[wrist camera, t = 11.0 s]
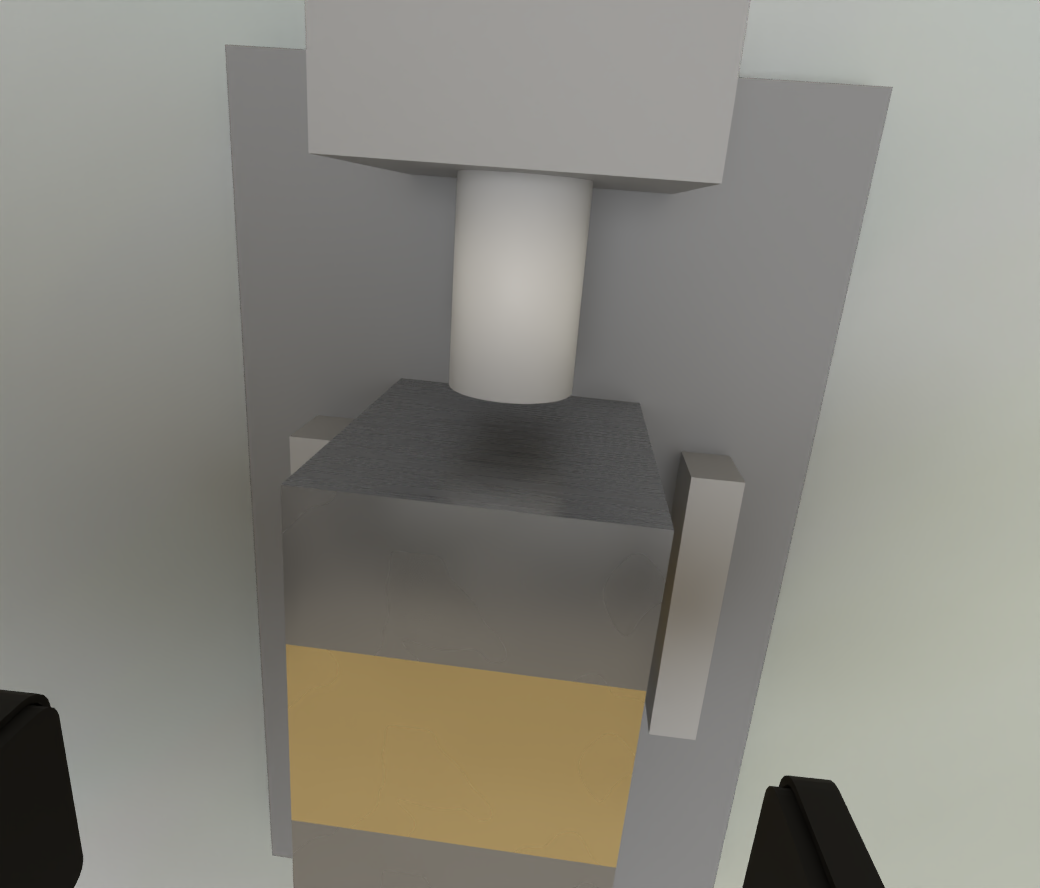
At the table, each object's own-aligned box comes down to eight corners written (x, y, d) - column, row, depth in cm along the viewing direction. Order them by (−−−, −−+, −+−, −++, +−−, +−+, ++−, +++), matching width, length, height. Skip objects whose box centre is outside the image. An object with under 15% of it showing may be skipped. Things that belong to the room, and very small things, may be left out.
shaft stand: (701, 882, 19) (747, 1159, 14) (287, 825, 20) (169, 1064, 15) (869, 96, 13) (1090, 6, 7) (249, 56, 14) (11, -54, 8)
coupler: (401, 378, 14) (281, 484, 9) (640, 403, 14) (674, 530, 8) (392, 692, 17) (294, 931, 11) (594, 719, 17) (596, 977, 11)
